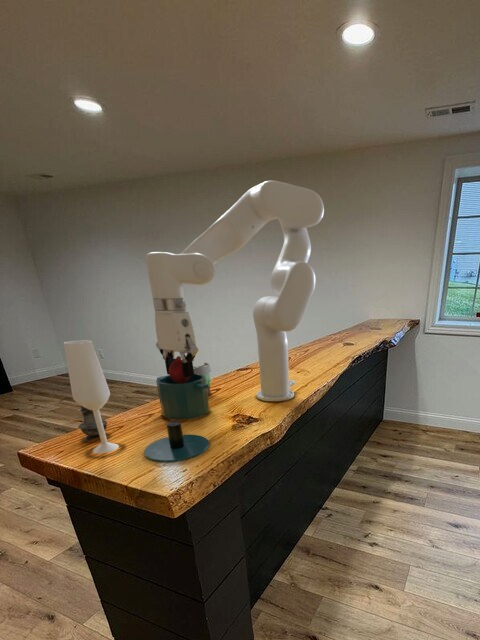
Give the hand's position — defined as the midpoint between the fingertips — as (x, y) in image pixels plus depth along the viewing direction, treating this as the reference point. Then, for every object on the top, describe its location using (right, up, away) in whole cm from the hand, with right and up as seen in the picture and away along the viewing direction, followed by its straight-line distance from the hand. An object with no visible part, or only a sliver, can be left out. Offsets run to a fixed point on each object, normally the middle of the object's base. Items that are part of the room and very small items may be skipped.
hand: (180, 374), depth 96 cm
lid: (+7, -20, -18) cm, 28 cm away
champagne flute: (-9, -21, -18) cm, 29 cm away
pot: (0, -11, +5) cm, 12 cm away
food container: (-2, -4, +21) cm, 22 cm away
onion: (0, -3, +1) cm, 3 cm away
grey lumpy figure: (-16, -18, -12) cm, 26 cm away
